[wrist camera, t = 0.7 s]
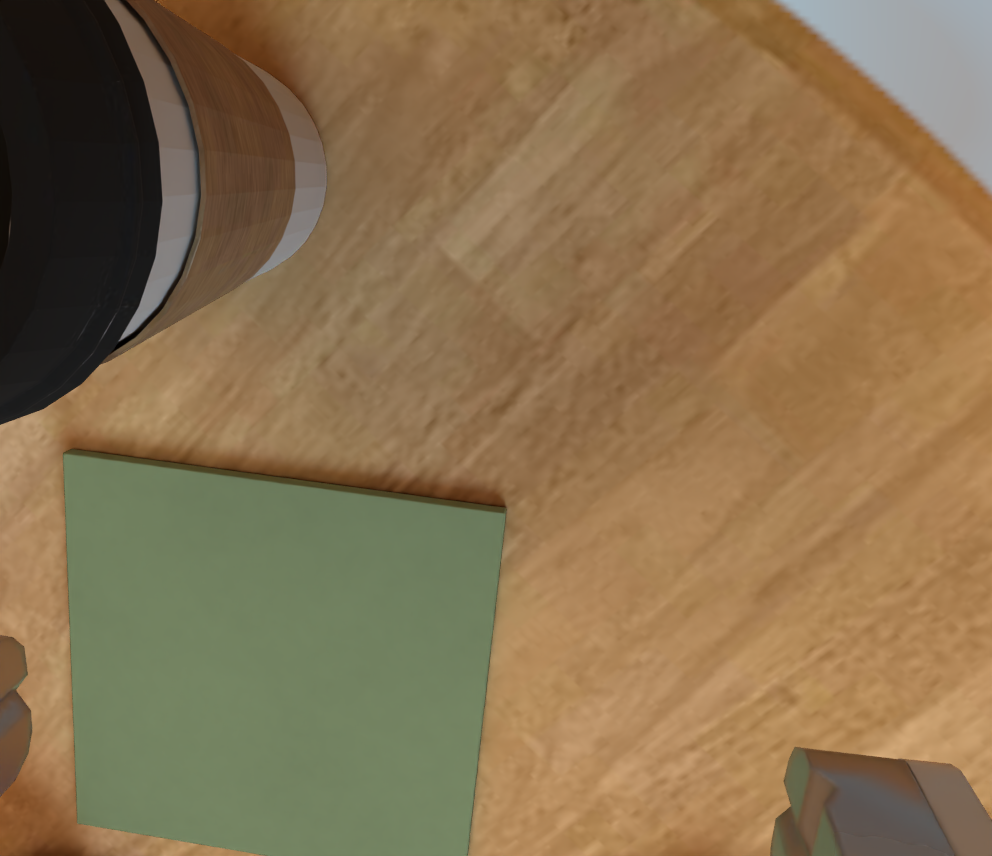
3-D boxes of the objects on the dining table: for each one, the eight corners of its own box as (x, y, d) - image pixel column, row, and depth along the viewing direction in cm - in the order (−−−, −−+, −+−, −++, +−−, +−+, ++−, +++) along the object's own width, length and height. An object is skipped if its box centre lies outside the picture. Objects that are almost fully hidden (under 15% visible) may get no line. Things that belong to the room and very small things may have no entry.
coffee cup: (86, -9, 24) (-668, -293, 10) (387, 32, 23) (57, -207, 9) (85, 295, 26) (-524, 428, 12) (358, 338, 26) (59, 533, 11)
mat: (71, 448, 28) (62, 452, 27) (507, 507, 27) (505, 513, 26) (84, 814, 32) (76, 823, 31) (465, 878, 31) (463, 889, 30)
